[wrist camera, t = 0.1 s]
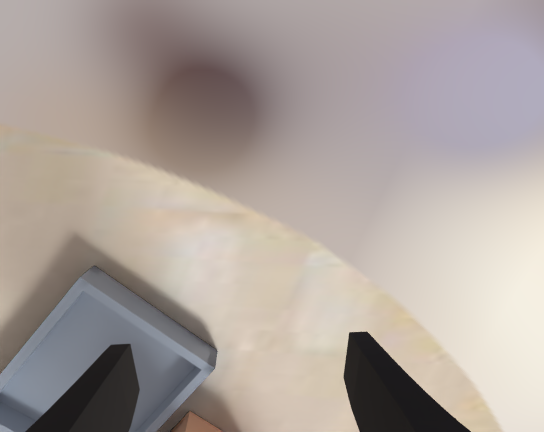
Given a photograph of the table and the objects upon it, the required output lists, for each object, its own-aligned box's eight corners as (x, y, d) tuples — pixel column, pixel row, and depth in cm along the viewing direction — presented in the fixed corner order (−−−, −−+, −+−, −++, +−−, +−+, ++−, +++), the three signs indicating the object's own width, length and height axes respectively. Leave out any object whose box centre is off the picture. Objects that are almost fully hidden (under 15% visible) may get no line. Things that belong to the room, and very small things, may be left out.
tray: (114, 462, 24) (103, 487, 22) (-12, 393, 22) (-34, 415, 20) (217, 350, 22) (214, 368, 21) (94, 265, 20) (79, 277, 18)
